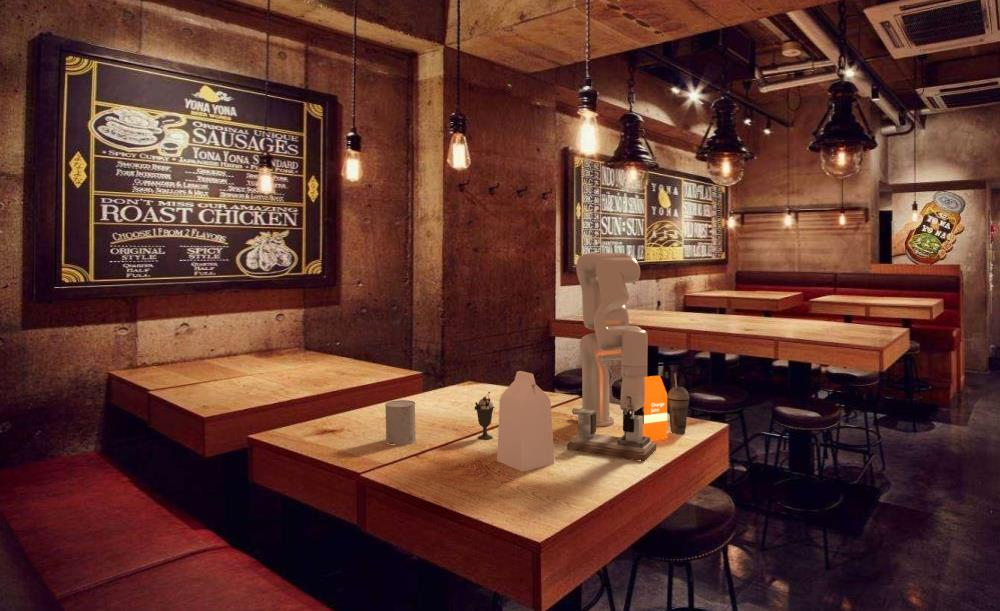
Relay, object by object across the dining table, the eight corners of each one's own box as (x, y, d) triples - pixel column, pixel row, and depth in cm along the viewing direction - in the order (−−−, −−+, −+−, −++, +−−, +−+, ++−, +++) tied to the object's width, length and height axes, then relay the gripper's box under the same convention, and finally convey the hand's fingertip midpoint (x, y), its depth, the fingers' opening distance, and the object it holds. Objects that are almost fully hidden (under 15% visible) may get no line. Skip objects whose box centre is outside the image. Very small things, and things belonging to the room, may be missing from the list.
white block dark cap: (623, 443, 188) (624, 417, 188) (628, 440, 192) (628, 414, 191) (638, 445, 186) (638, 419, 186) (642, 442, 190) (643, 415, 189)
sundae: (498, 435, 210) (497, 390, 208) (491, 441, 203) (490, 395, 202) (479, 434, 212) (478, 389, 211) (471, 439, 205) (471, 393, 204)
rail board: (566, 450, 193) (566, 413, 192) (581, 440, 204) (581, 405, 203) (644, 461, 182) (644, 423, 181) (655, 450, 192) (656, 414, 191)
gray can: (391, 447, 198) (390, 408, 197) (382, 439, 206) (381, 402, 206) (420, 442, 202) (419, 404, 201) (410, 435, 211) (409, 399, 210)
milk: (554, 463, 181) (554, 373, 179) (522, 471, 174) (521, 378, 172) (528, 453, 191) (528, 367, 189) (497, 460, 184) (496, 371, 182)
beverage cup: (690, 436, 207) (691, 375, 206) (667, 435, 209) (667, 374, 207) (688, 430, 214) (689, 371, 213) (666, 429, 216) (666, 371, 214)
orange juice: (630, 435, 208) (630, 375, 207) (652, 432, 212) (653, 373, 210) (644, 442, 201) (645, 379, 199) (667, 438, 204) (668, 377, 203)
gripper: (631, 365, 197) (630, 419, 198) (612, 374, 182) (611, 433, 183) (654, 367, 193) (654, 422, 195) (637, 377, 178) (637, 436, 180)
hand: (633, 427), depth 189 cm, fingers open, 9 cm apart
